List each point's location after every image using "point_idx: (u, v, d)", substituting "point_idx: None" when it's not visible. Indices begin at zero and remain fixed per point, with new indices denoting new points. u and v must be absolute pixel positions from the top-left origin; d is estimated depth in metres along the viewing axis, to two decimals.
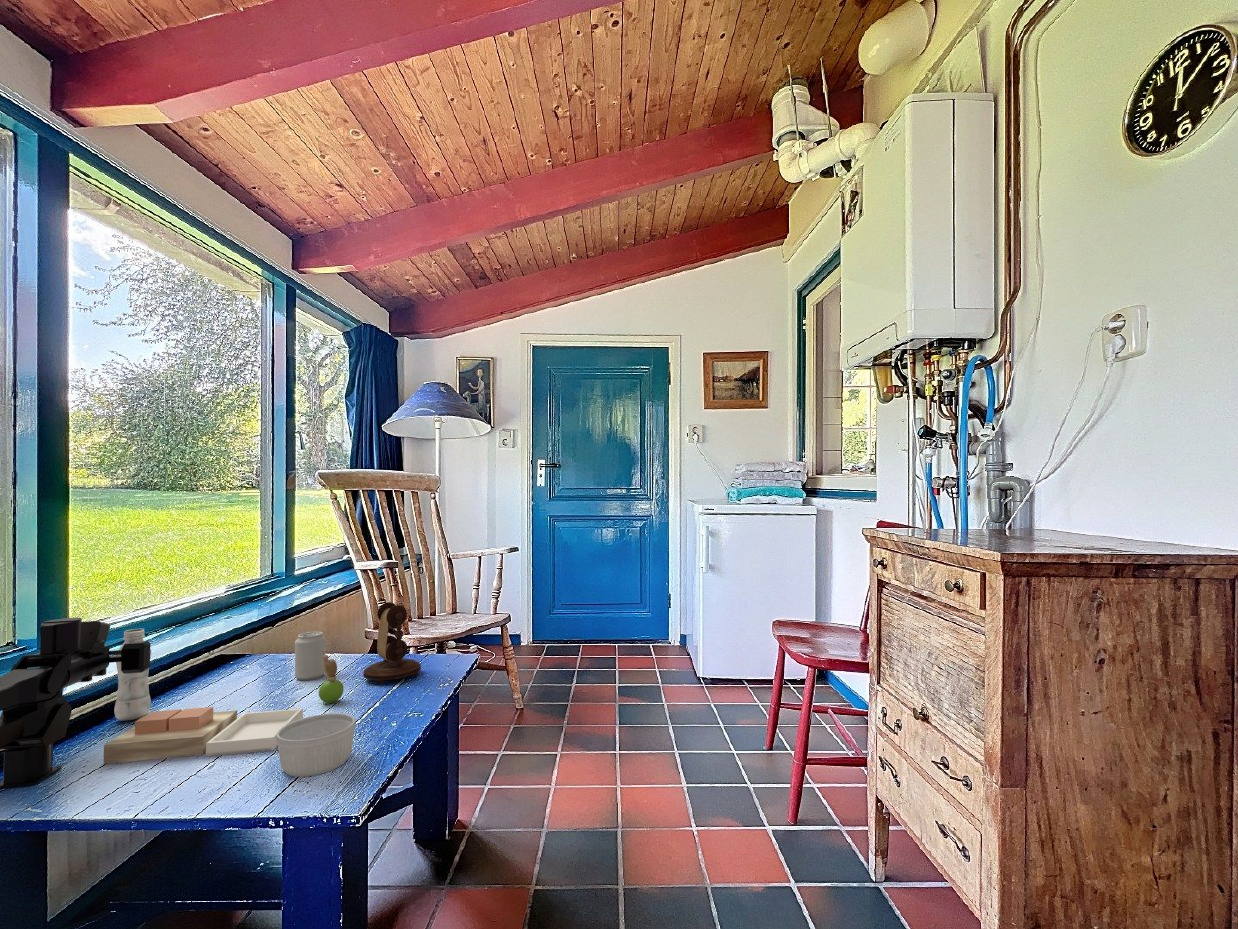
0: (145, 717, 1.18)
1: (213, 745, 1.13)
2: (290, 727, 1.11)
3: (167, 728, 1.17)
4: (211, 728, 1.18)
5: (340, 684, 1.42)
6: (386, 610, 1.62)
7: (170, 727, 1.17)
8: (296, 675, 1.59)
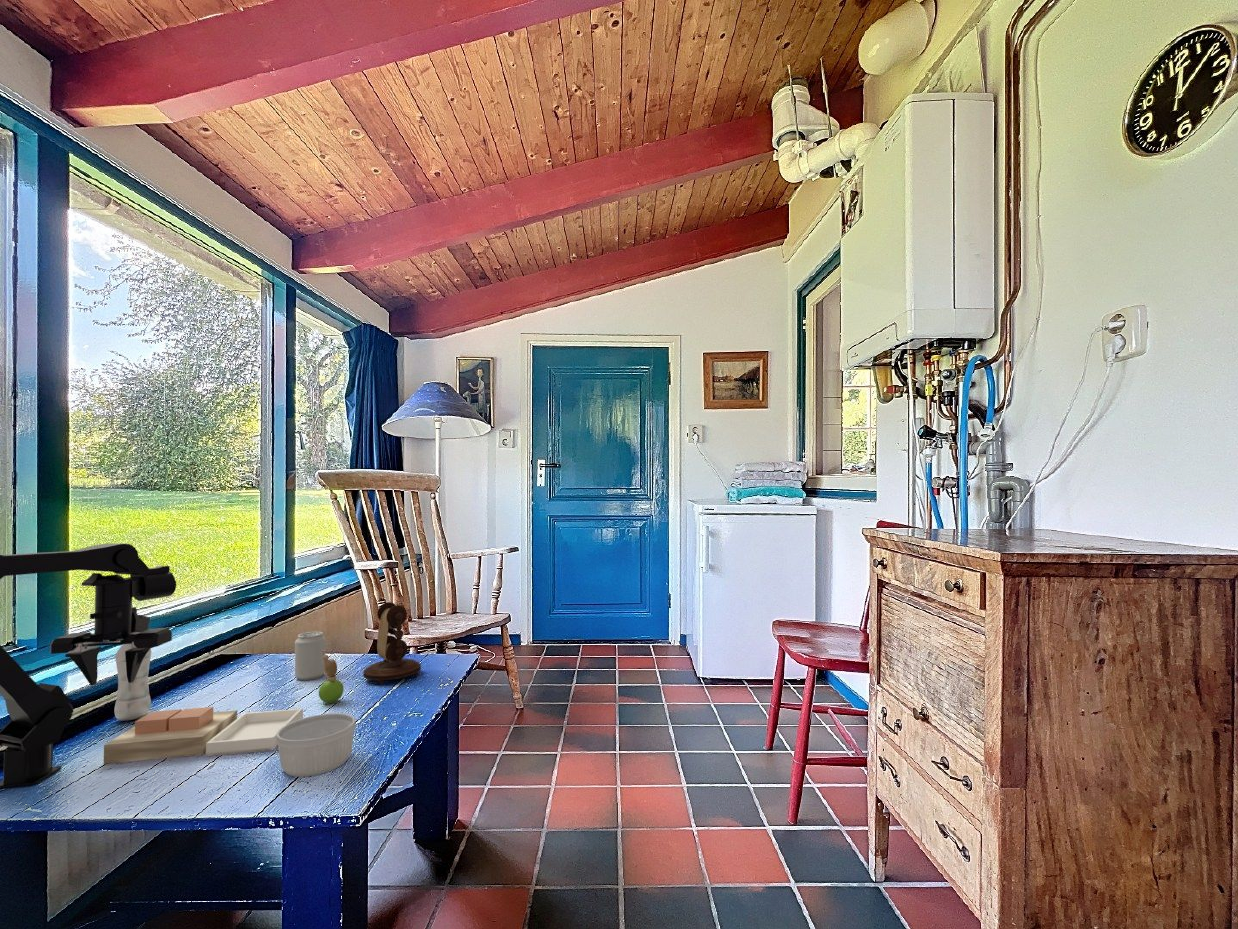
0: (145, 717, 1.18)
1: (213, 745, 1.13)
2: (290, 727, 1.11)
3: (167, 728, 1.17)
4: (211, 728, 1.18)
5: (340, 684, 1.42)
6: (386, 610, 1.62)
7: (170, 727, 1.17)
8: (296, 675, 1.59)
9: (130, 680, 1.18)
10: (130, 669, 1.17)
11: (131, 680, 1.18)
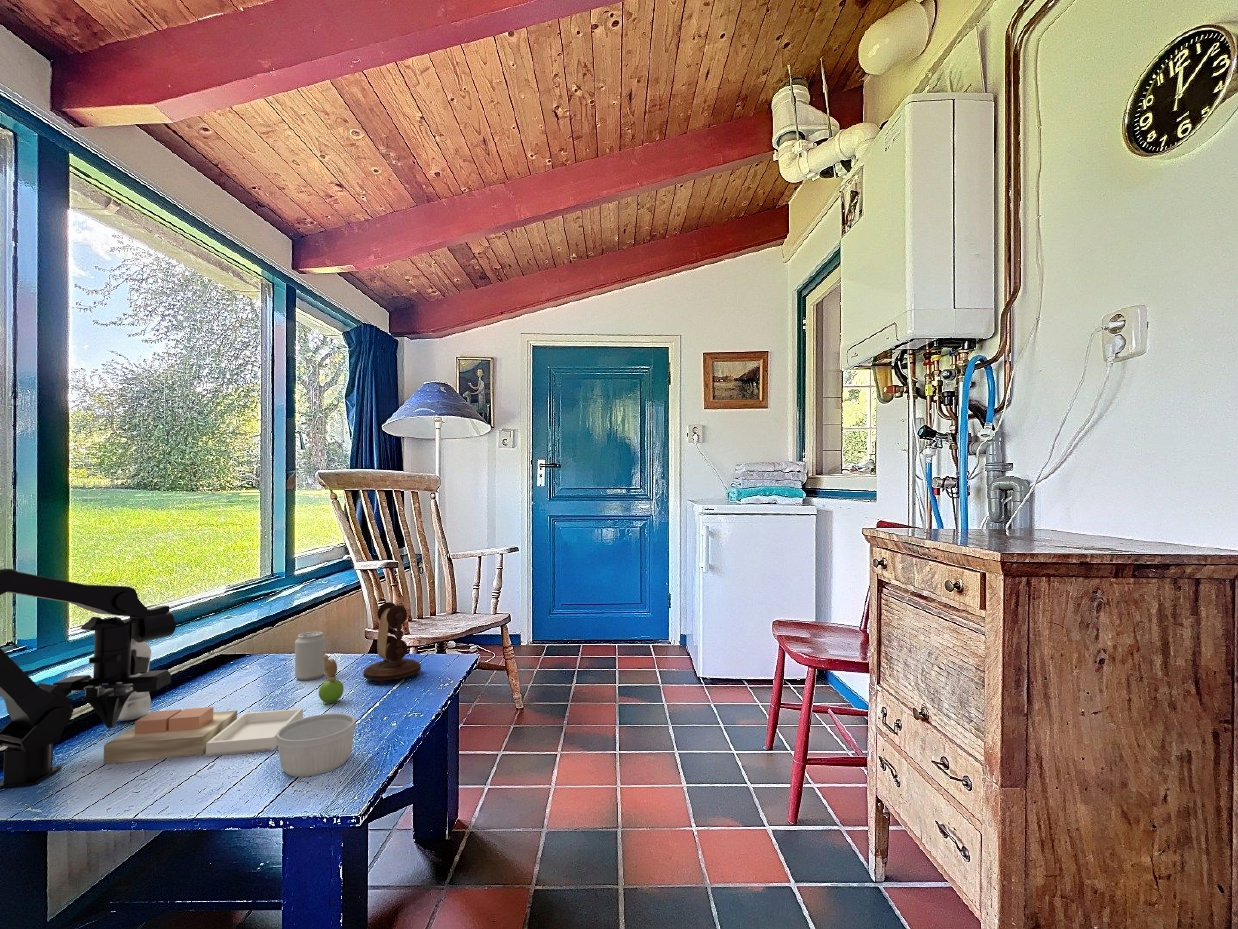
0: (145, 717, 1.18)
1: (213, 745, 1.13)
2: (290, 727, 1.11)
3: (167, 728, 1.17)
4: (211, 728, 1.18)
5: (340, 684, 1.42)
6: (386, 610, 1.62)
7: (170, 727, 1.17)
8: (296, 675, 1.59)
9: (111, 725, 1.17)
10: (111, 714, 1.16)
11: (112, 725, 1.17)
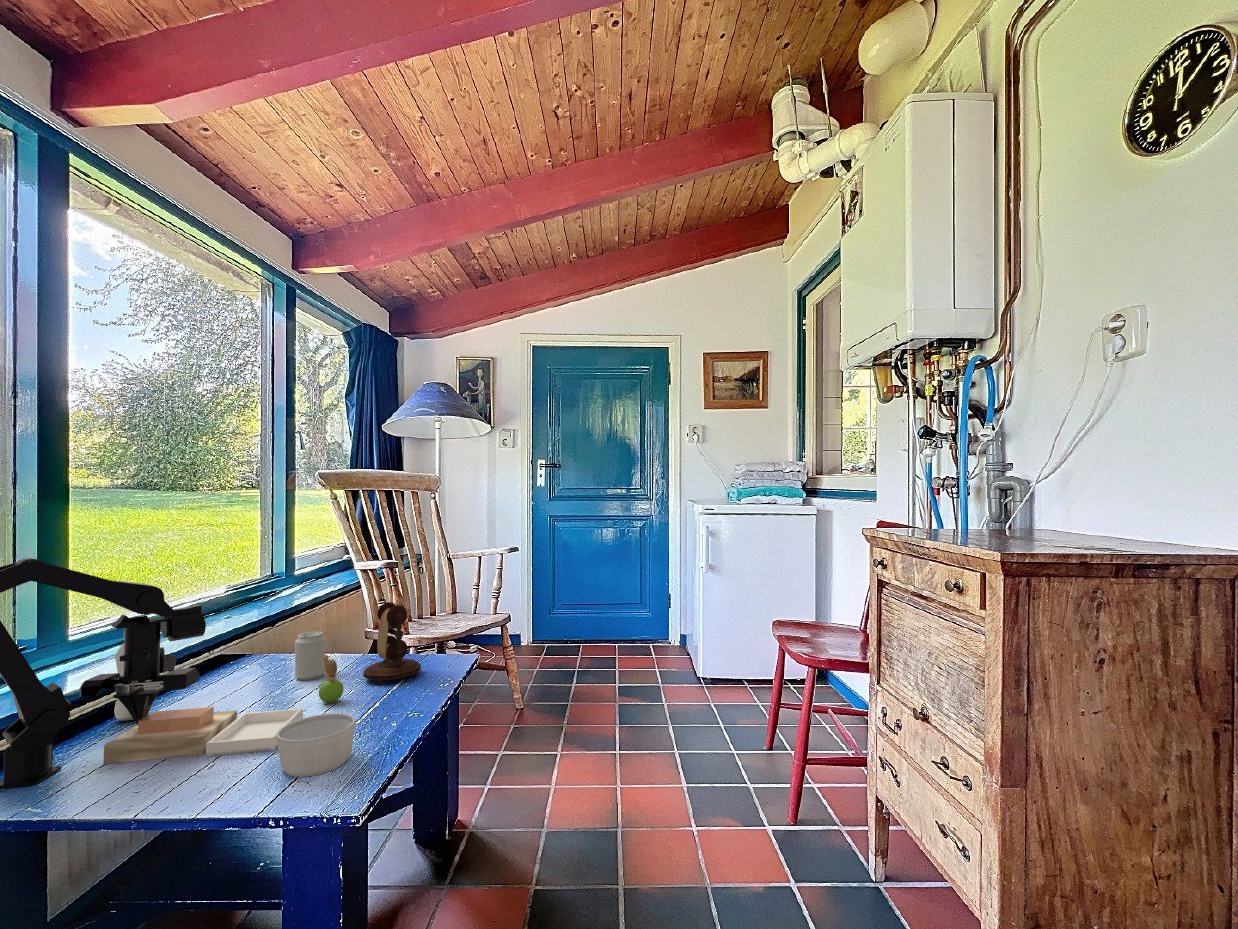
0: (148, 717, 1.18)
1: (213, 745, 1.13)
2: (290, 727, 1.11)
3: None
4: (211, 728, 1.18)
5: (340, 684, 1.42)
6: (386, 610, 1.62)
7: (170, 727, 1.17)
8: (296, 675, 1.59)
9: None
10: (141, 712, 1.17)
11: None
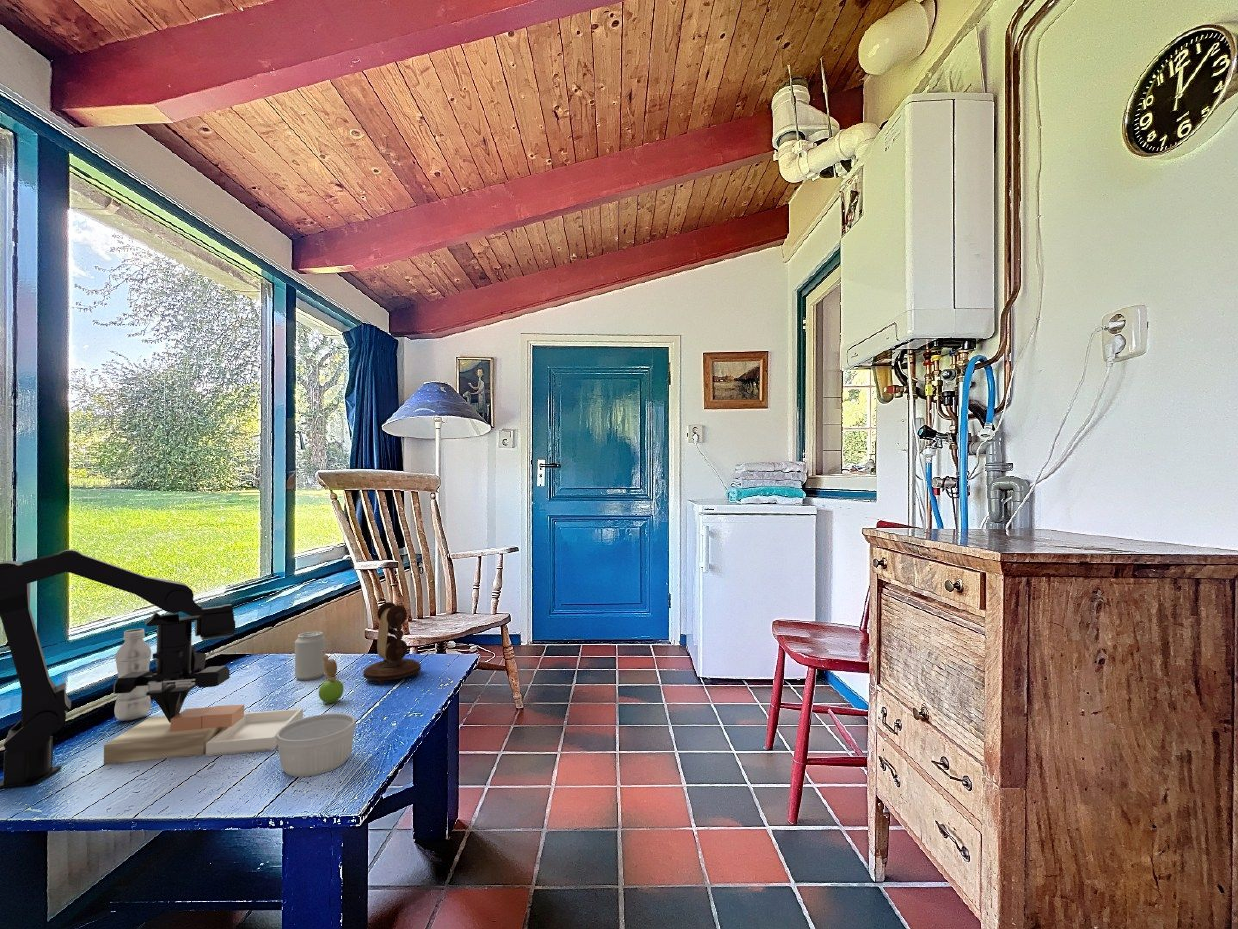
0: (180, 714, 1.19)
1: (213, 745, 1.13)
2: (290, 727, 1.11)
3: None
4: (211, 728, 1.18)
5: (340, 684, 1.42)
6: (386, 610, 1.62)
7: (203, 724, 1.18)
8: (296, 675, 1.59)
9: None
10: (173, 709, 1.18)
11: None
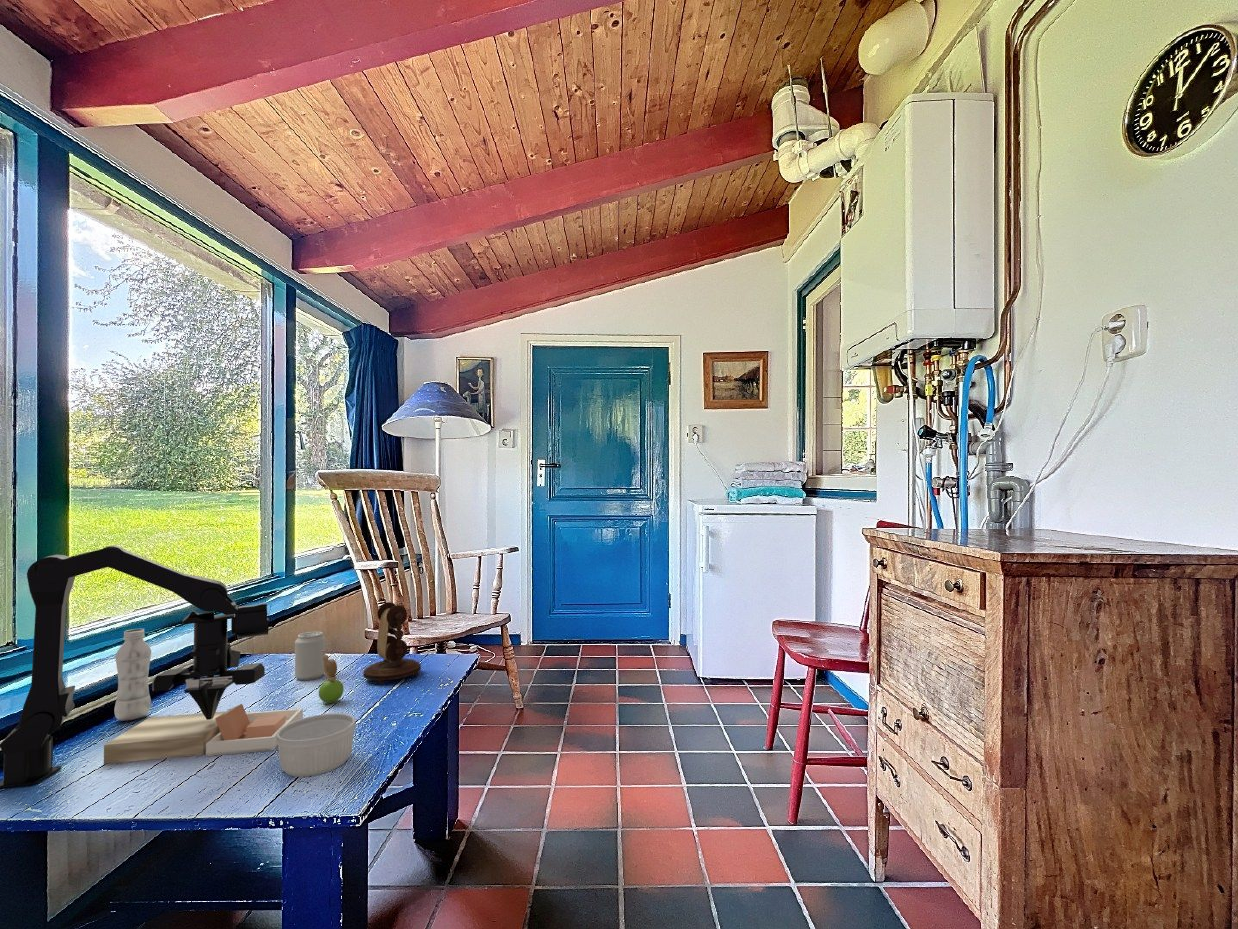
0: (234, 712, 1.19)
1: (213, 745, 1.13)
2: (290, 727, 1.11)
3: None
4: (211, 728, 1.18)
5: (340, 684, 1.42)
6: (386, 610, 1.62)
7: (273, 729, 1.20)
8: (296, 675, 1.59)
9: (210, 717, 1.20)
10: (211, 706, 1.19)
11: (211, 717, 1.20)
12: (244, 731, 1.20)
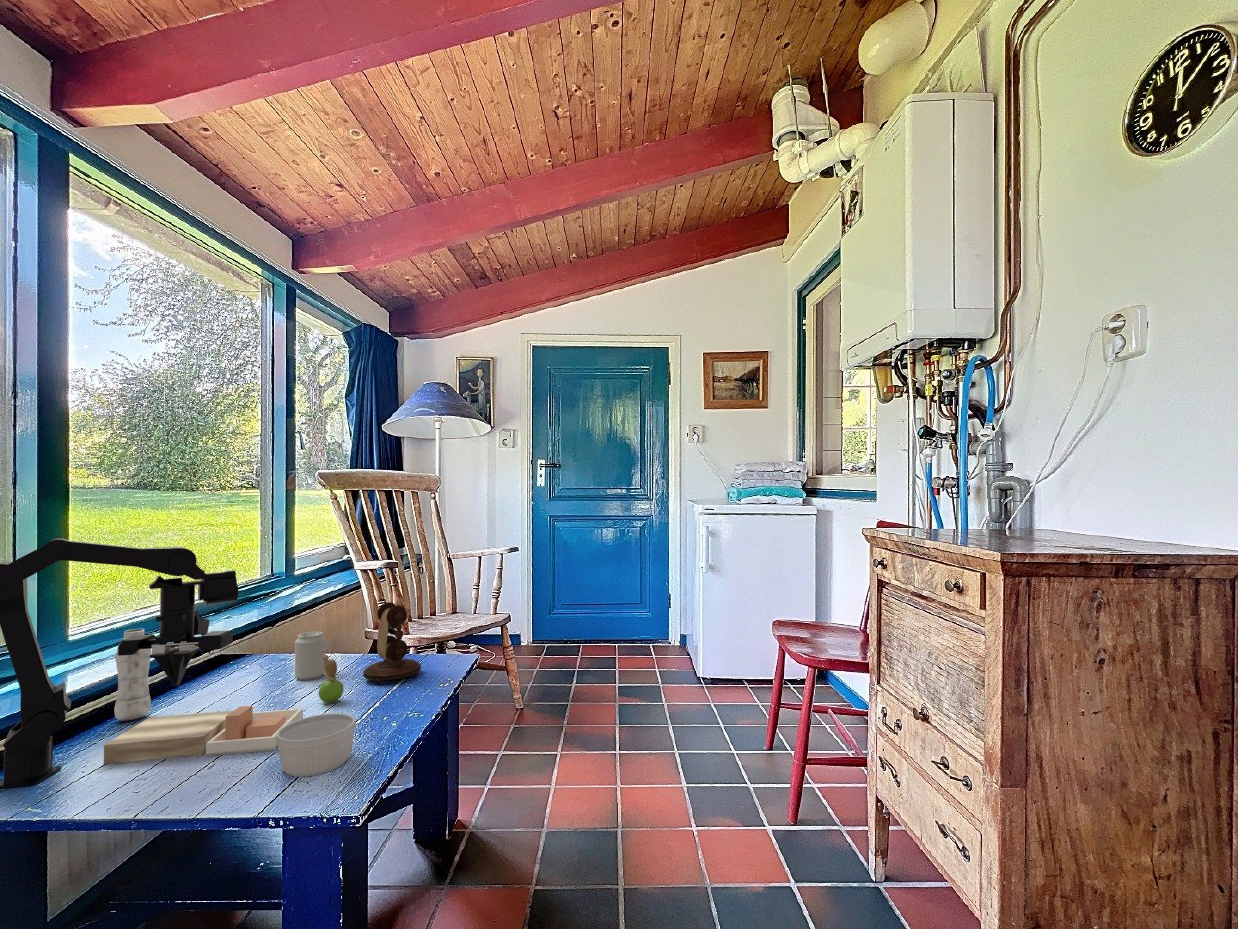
0: (244, 715, 1.20)
1: (213, 745, 1.13)
2: (290, 727, 1.11)
3: None
4: (211, 728, 1.18)
5: (340, 684, 1.42)
6: (386, 610, 1.62)
7: (273, 729, 1.20)
8: (296, 675, 1.59)
9: (177, 683, 1.19)
10: (177, 672, 1.18)
11: (177, 683, 1.19)
12: (245, 736, 1.20)
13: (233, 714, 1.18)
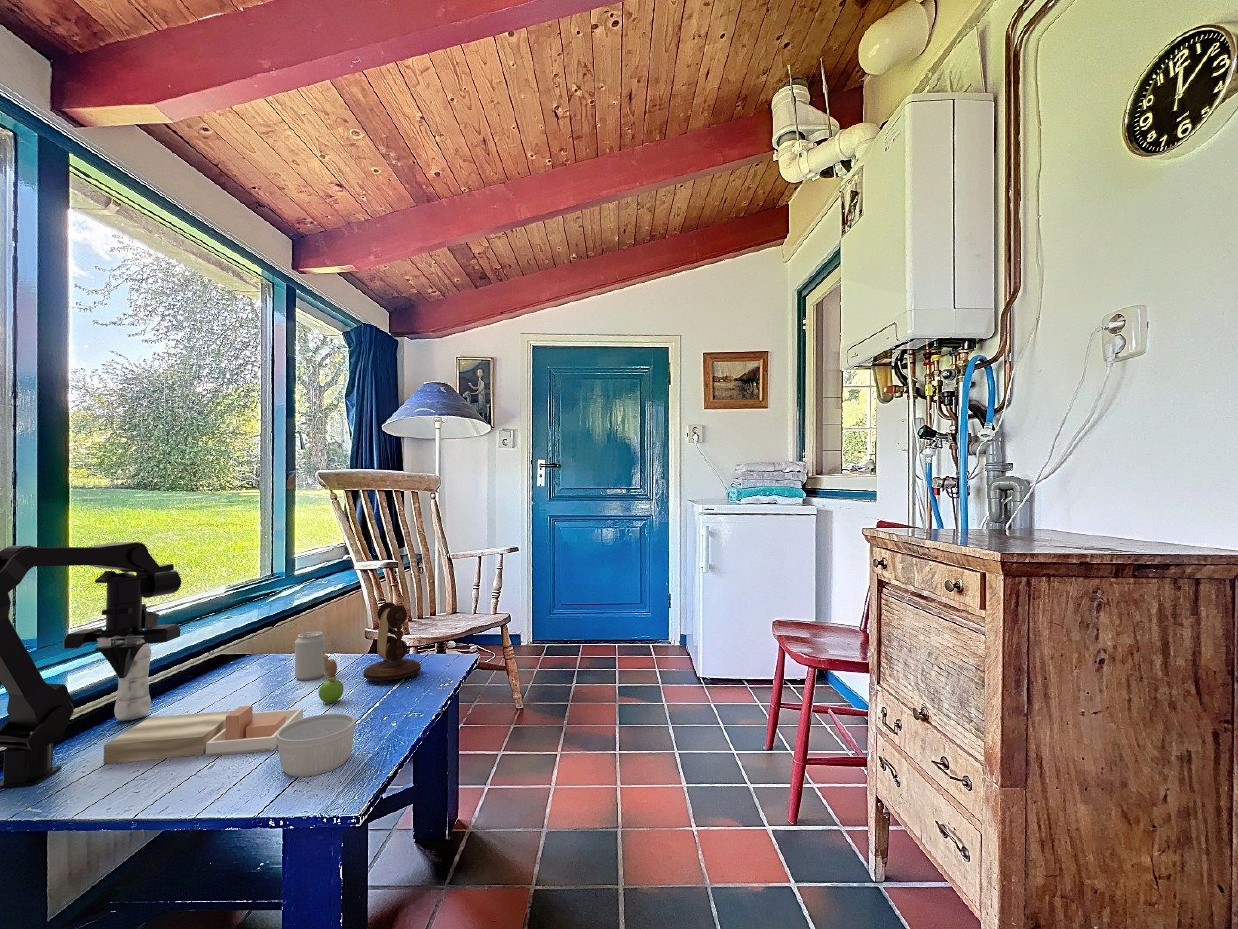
0: (244, 715, 1.20)
1: (213, 745, 1.13)
2: (290, 727, 1.11)
3: None
4: (211, 728, 1.18)
5: (340, 684, 1.42)
6: (386, 610, 1.62)
7: (273, 729, 1.20)
8: (296, 675, 1.59)
9: (123, 676, 1.21)
10: (123, 665, 1.20)
11: (124, 676, 1.21)
12: (245, 736, 1.20)
13: (233, 714, 1.18)
